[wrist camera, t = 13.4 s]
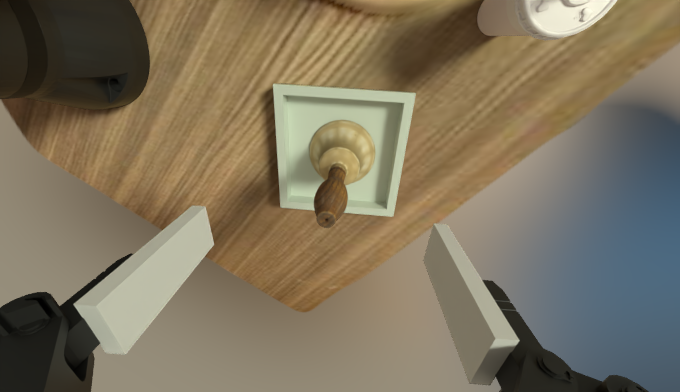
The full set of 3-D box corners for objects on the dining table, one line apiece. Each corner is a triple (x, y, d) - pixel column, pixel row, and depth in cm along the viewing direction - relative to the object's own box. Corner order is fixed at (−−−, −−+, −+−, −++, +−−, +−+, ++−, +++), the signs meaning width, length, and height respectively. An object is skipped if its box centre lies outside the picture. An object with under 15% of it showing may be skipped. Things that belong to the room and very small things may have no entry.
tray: (285, 199, 34) (280, 207, 32) (279, 83, 28) (272, 83, 25) (390, 207, 34) (393, 216, 32) (410, 91, 27) (415, 93, 25)
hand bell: (306, 177, 32) (265, 259, 18) (313, 113, 28) (270, 150, 14) (367, 188, 32) (375, 278, 18) (382, 126, 28) (409, 176, 14)
